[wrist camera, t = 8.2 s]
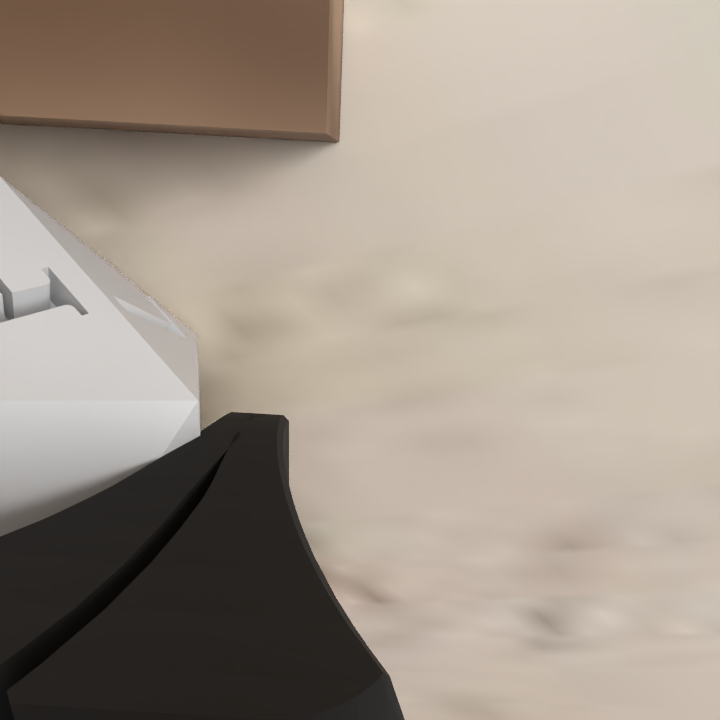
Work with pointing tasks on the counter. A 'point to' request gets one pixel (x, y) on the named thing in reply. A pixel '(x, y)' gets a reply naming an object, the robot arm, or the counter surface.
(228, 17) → the pocket
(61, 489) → the die
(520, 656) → the counter surface
